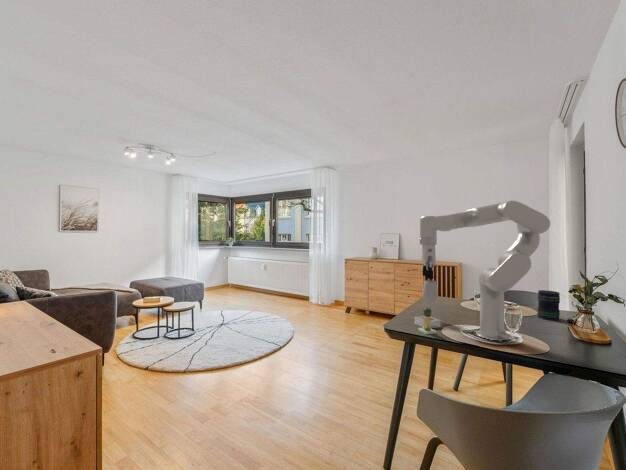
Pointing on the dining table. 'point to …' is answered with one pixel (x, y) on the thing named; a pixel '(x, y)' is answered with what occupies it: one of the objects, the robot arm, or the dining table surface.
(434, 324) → the chuck block
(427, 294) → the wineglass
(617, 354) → the dining table surface
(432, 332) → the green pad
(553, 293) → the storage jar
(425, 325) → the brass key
